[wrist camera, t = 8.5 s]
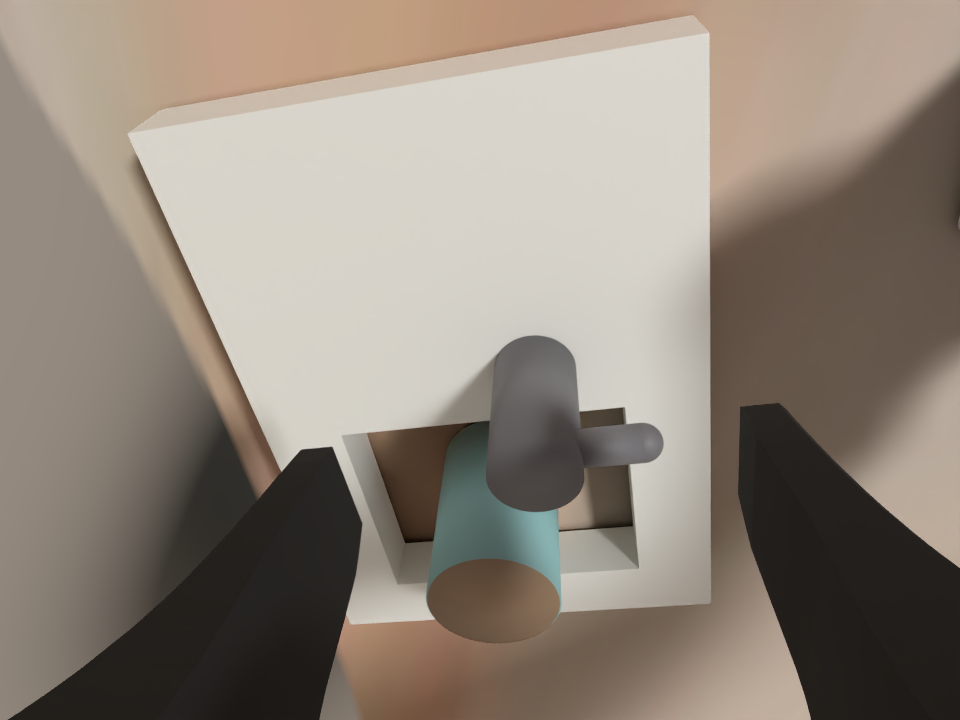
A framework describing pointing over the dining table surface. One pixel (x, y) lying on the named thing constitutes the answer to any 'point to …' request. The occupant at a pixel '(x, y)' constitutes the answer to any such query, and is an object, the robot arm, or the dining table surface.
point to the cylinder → (490, 554)
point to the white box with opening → (474, 285)
